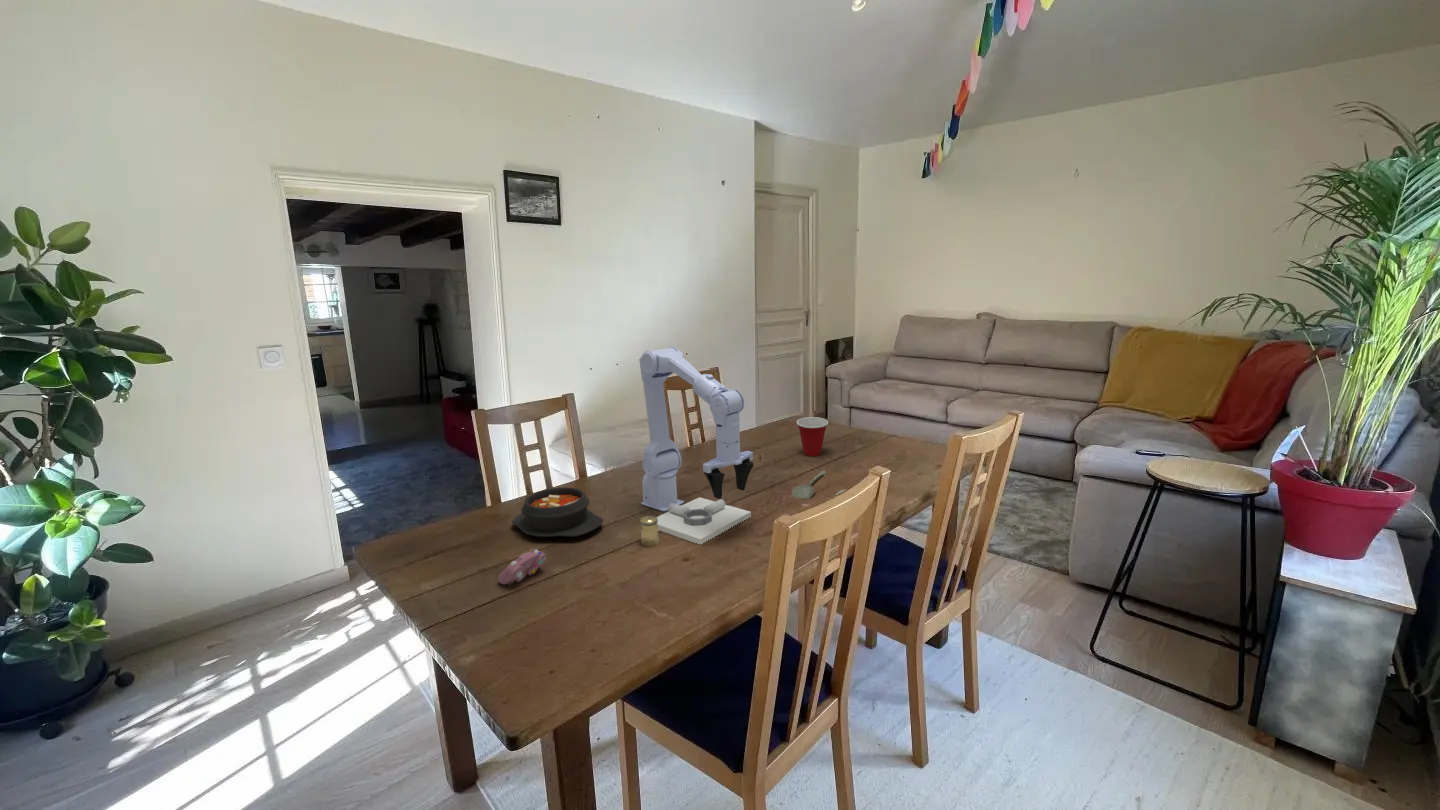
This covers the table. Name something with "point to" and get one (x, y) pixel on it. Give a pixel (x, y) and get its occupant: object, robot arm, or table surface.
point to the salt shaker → (649, 530)
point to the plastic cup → (812, 434)
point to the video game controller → (522, 566)
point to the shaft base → (705, 530)
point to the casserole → (557, 514)
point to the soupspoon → (805, 489)
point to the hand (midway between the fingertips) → (729, 493)
